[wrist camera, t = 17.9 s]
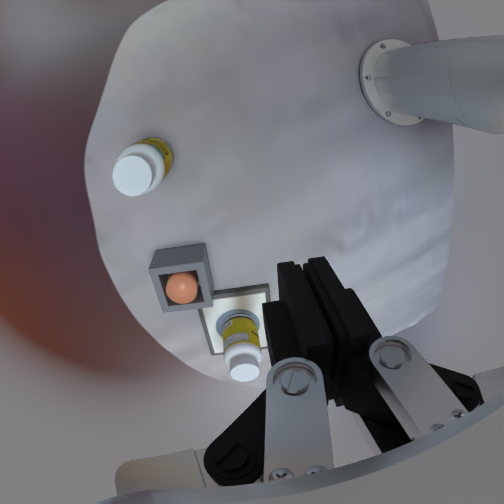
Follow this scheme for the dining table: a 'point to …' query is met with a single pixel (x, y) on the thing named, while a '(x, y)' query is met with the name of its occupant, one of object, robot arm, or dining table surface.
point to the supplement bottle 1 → (142, 166)
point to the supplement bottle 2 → (241, 347)
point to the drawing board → (231, 304)
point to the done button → (182, 286)
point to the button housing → (181, 262)
